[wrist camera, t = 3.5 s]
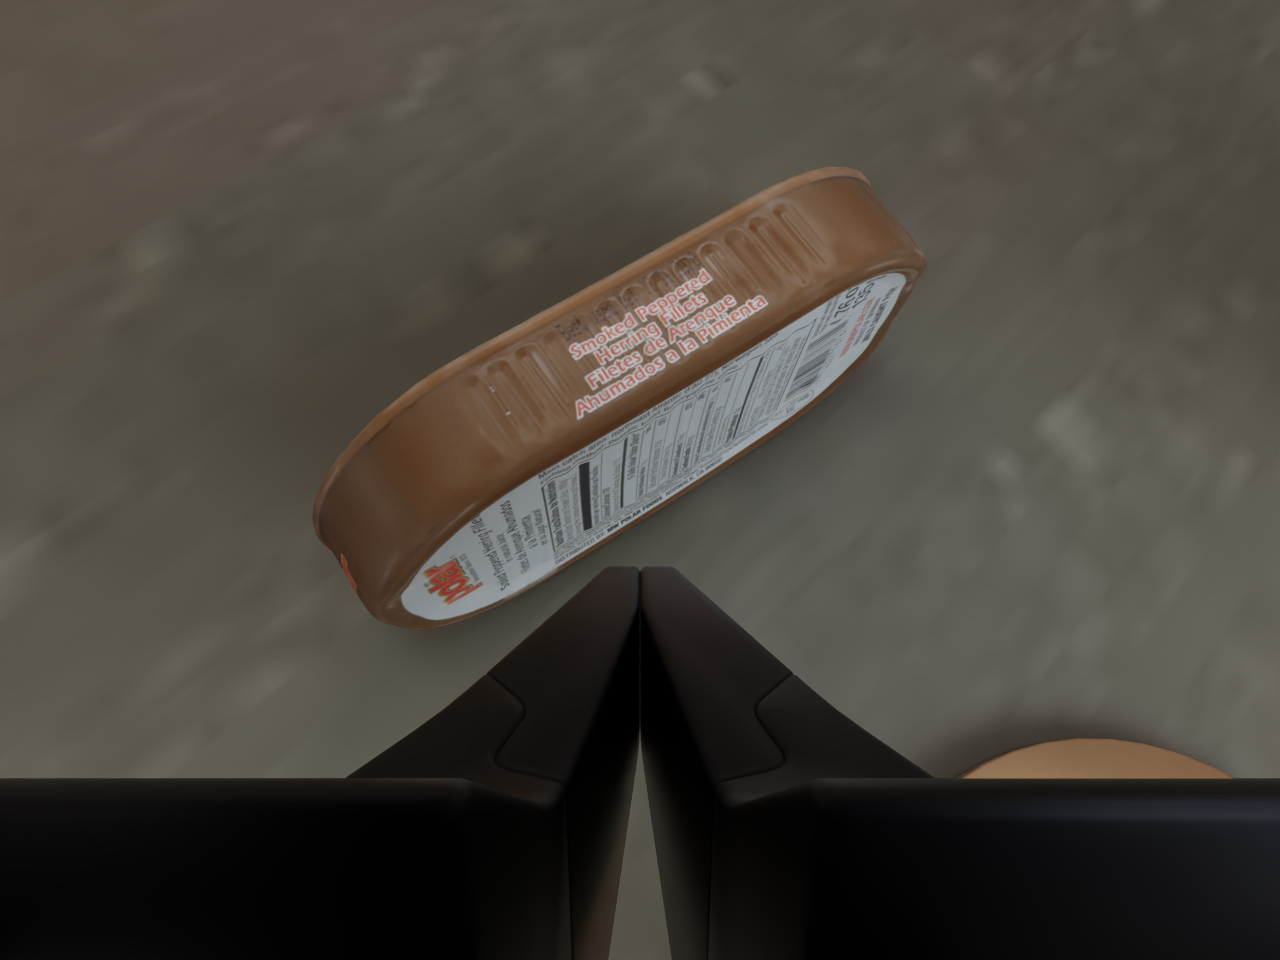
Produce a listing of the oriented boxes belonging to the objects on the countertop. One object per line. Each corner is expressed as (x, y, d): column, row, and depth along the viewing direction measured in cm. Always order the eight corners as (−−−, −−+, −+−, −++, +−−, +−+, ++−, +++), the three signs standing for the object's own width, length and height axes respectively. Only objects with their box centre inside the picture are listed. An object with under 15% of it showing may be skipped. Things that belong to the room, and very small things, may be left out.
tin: (823, 309, 27) (897, 83, 19) (892, 386, 26) (1000, 181, 18) (368, 583, 23) (234, 444, 16) (427, 684, 22) (314, 590, 15)
